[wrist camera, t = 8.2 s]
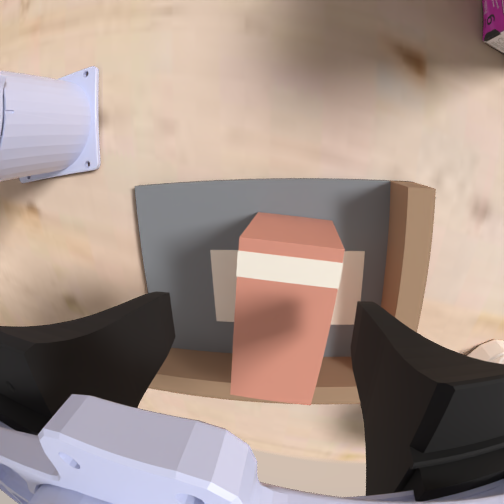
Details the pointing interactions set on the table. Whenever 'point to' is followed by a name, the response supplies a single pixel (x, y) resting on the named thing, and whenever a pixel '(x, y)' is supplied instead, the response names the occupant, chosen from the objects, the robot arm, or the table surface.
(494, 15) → the candy bar box
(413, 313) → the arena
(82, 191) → the table surface
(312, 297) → the block
